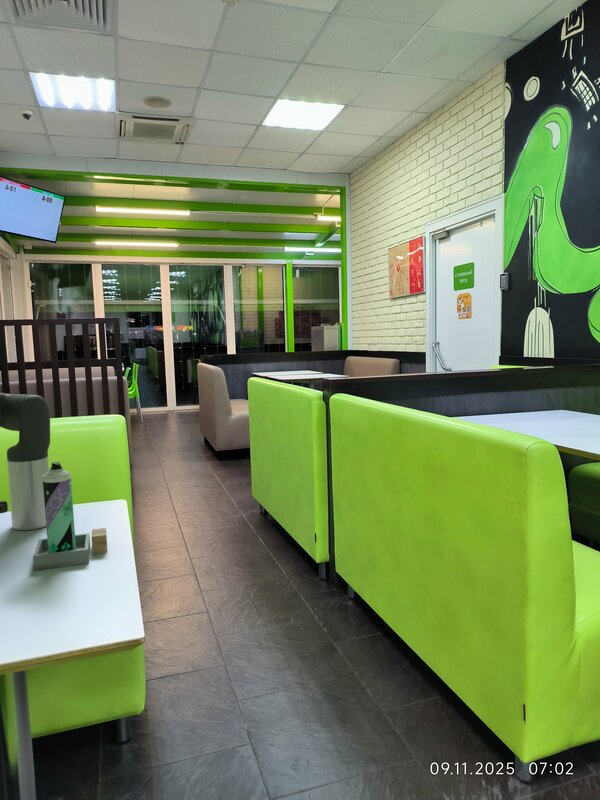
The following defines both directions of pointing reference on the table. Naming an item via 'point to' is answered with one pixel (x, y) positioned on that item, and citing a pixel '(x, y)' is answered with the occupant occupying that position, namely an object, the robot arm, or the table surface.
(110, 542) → the table surface
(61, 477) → the spray can
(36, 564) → the tray
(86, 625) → the table surface
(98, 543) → the chock block
